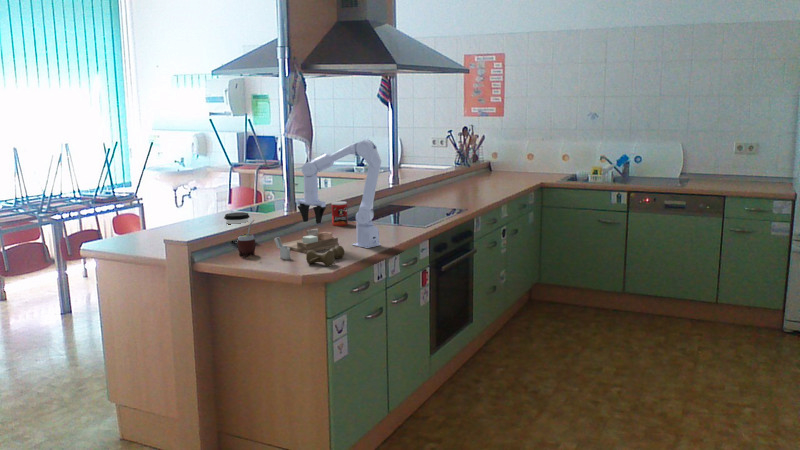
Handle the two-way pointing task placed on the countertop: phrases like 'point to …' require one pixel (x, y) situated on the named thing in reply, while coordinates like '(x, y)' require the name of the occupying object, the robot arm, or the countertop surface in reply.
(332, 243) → the lane rack
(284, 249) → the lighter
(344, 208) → the canned food
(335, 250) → the kendama
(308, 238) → the block
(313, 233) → the tethered block
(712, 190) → the countertop surface
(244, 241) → the mate gourd
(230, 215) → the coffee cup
